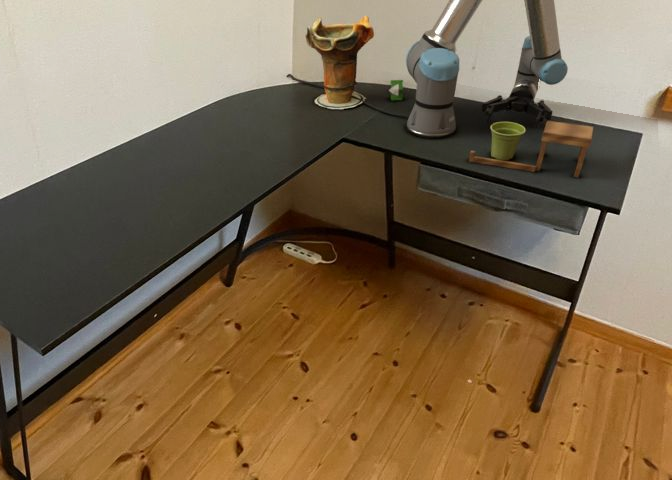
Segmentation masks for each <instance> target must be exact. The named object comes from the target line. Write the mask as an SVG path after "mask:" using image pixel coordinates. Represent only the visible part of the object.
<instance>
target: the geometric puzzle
mask: <svg viewBox="0 0 672 480" xmlns="http://www.w3.org/2000/svg"><path fill="white" fill-rule="evenodd" d="M389 82H390V83H389V84H390V87H388V88H387V89H386V93H389V94H388V95H387V96H388V97H390V98H389V100H390V101H403V100H404V97H405V95H406V93H407V92H406V91H408V88H406V86H404V85H406V84H405V82H404V79H394V80H393V79H391V80H390V81H389Z"/></svg>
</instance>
